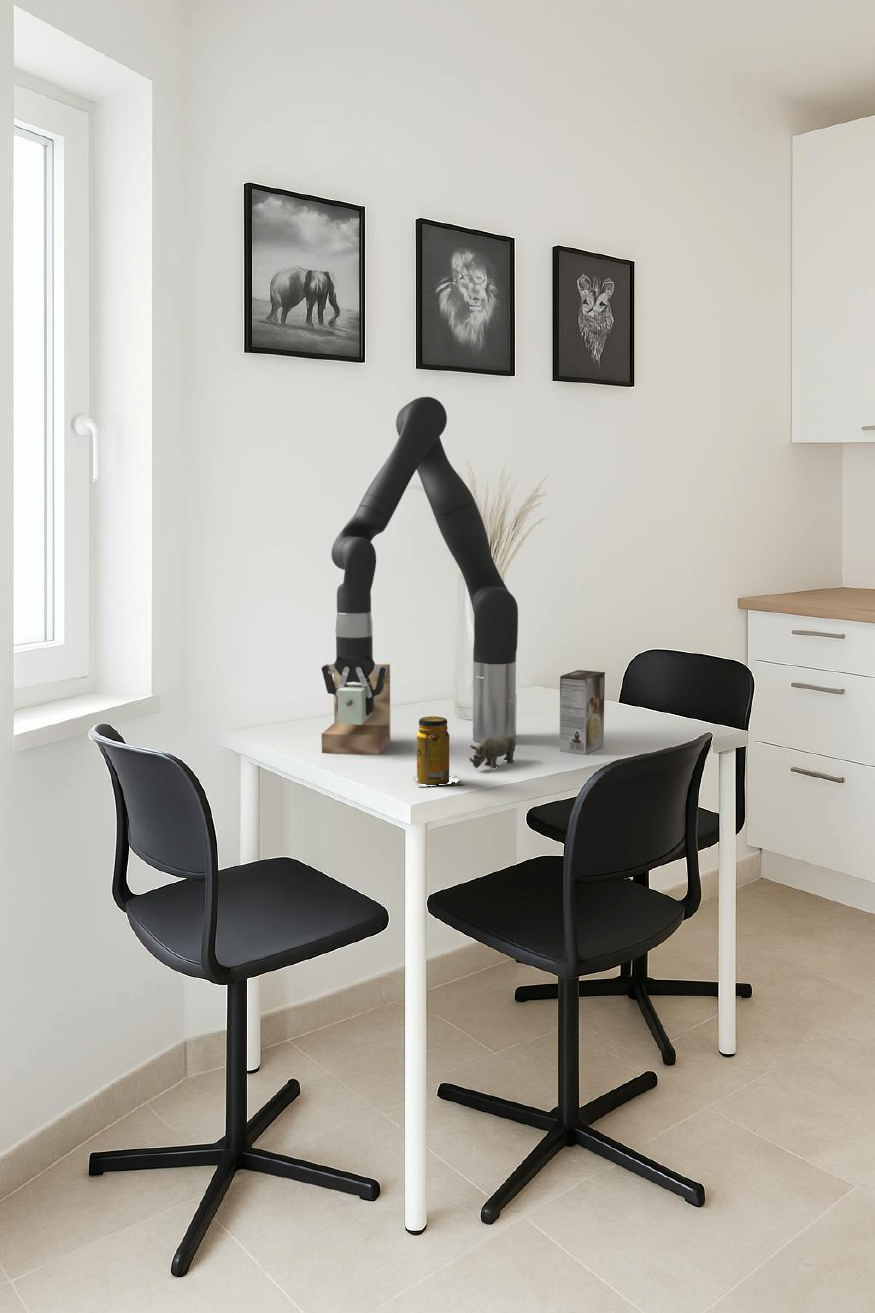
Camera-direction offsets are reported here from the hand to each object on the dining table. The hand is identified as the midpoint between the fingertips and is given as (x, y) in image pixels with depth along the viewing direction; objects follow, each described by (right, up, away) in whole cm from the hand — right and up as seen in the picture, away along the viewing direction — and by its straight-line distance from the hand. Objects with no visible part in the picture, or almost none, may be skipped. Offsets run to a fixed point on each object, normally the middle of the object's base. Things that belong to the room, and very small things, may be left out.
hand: (355, 713), depth 223 cm
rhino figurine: (+28, -10, -13) cm, 32 cm away
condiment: (+17, -12, -25) cm, 32 cm away
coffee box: (+47, -8, +1) cm, 48 cm away
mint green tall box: (0, -1, 0) cm, 1 cm away
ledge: (0, -7, +2) cm, 7 cm away
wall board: (+1, -6, +8) cm, 10 cm away
